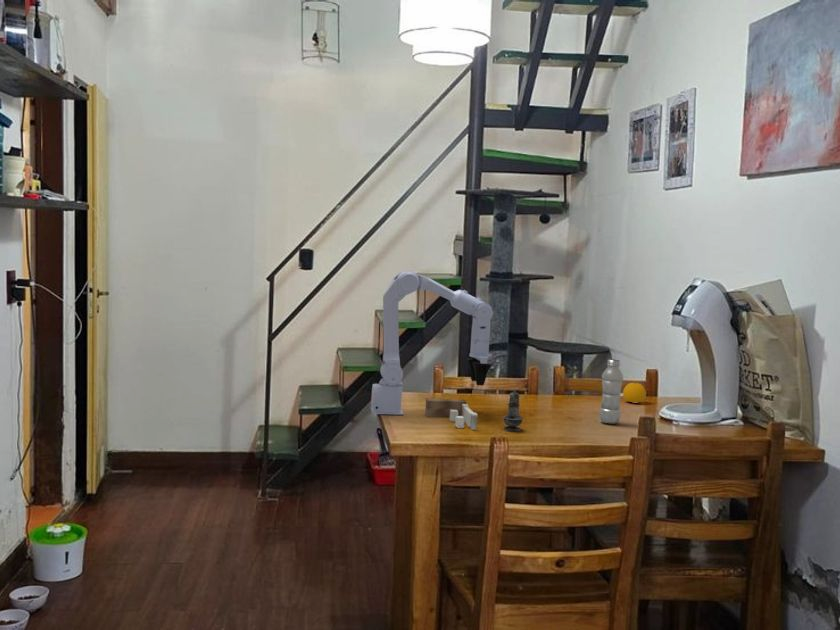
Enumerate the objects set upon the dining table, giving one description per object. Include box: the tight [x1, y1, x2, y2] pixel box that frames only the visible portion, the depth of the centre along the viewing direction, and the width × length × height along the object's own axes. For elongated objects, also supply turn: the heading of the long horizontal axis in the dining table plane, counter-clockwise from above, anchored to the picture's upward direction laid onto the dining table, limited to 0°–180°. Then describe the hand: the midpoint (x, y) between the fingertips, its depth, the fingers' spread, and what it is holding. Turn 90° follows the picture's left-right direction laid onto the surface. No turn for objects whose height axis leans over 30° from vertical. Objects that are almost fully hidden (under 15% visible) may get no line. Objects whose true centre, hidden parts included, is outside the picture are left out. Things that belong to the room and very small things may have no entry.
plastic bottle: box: [598, 358, 624, 425], centre depth 252 cm, size 6×7×20 cm
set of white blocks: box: [449, 403, 478, 431], centre depth 241 cm, size 6×15×4 cm, turn 8°
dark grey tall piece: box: [502, 388, 524, 433], centre depth 237 cm, size 6×6×12 cm
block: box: [424, 398, 467, 418], centre depth 251 cm, size 12×4×5 cm, turn 98°
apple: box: [622, 382, 647, 403], centre depth 291 cm, size 8×8×8 cm
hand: (477, 383), depth 255 cm, fingers open, 7 cm apart
